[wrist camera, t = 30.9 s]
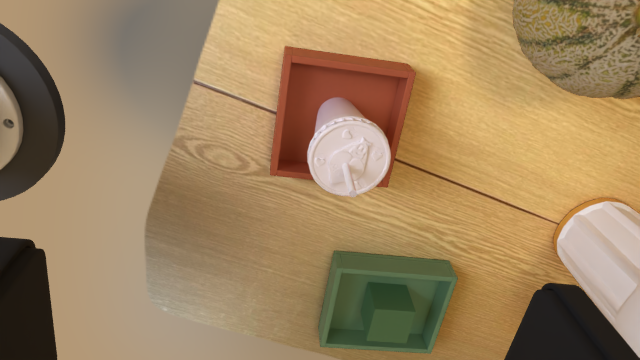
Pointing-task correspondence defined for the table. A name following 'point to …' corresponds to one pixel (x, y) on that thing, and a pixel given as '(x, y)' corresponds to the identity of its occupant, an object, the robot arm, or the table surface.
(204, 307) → the table surface
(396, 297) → the green block
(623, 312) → the cup
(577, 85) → the cantaloupe
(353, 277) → the green tray
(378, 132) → the smoothie
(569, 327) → the robot arm
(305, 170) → the terracotta tray
